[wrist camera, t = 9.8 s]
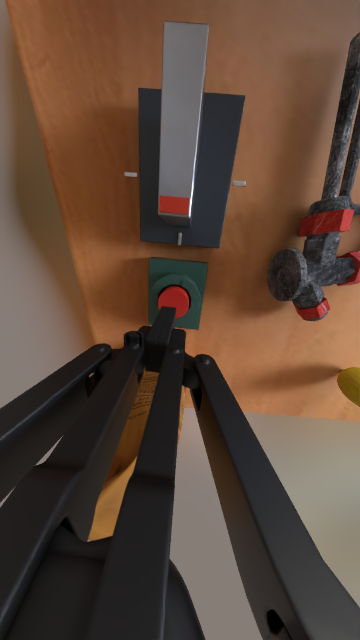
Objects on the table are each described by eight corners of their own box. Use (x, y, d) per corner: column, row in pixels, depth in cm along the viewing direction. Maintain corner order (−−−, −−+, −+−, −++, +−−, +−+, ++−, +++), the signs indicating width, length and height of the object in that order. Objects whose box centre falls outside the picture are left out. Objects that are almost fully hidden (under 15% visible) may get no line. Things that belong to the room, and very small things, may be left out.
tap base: (130, 104, 18) (120, 82, 15) (254, 113, 17) (264, 93, 15) (134, 240, 23) (127, 240, 21) (228, 249, 23) (232, 250, 21)
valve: (350, 306, 27) (260, 316, 26) (424, 68, 17) (284, 75, 17) (402, 321, 21) (287, 334, 20) (559, -30, 11) (349, -24, 11)
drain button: (160, 284, 22) (158, 287, 20) (190, 287, 22) (190, 290, 20) (159, 312, 24) (157, 317, 22) (187, 315, 24) (187, 320, 22)
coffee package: (142, 390, 35) (78, 578, 16) (128, 340, 30) (7, 525, 10) (188, 389, 34) (183, 589, 14) (182, 337, 29) (161, 537, 9)
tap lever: (176, 120, 16) (162, 14, 9) (202, 122, 16) (209, 17, 9) (170, 225, 20) (157, 214, 12) (191, 227, 20) (189, 217, 12)
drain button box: (152, 256, 24) (144, 259, 20) (207, 262, 24) (209, 265, 20) (151, 319, 28) (145, 330, 25) (197, 324, 28) (198, 336, 24)
